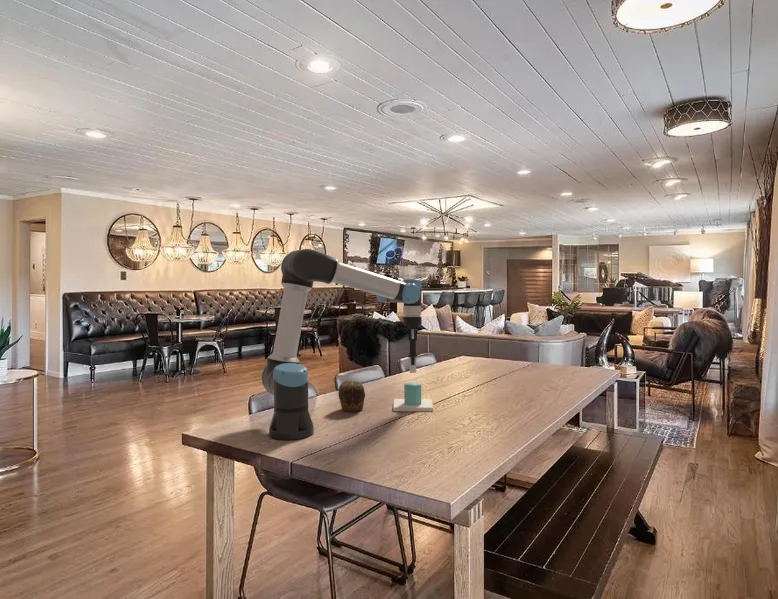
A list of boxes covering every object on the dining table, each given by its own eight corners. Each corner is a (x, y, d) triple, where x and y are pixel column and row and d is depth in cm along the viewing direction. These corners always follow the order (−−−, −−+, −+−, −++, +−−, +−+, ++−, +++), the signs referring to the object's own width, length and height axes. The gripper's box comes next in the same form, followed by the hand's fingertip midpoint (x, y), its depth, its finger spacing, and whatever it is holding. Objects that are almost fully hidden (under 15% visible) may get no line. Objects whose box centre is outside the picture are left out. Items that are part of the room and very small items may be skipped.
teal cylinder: (421, 405, 206) (421, 386, 206) (404, 405, 207) (403, 386, 206) (421, 401, 214) (421, 382, 213) (404, 401, 214) (404, 382, 214)
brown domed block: (333, 411, 204) (332, 382, 203) (347, 405, 213) (347, 377, 213) (356, 414, 198) (355, 384, 198) (370, 408, 208) (369, 379, 208)
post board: (433, 411, 203) (432, 396, 203) (393, 411, 204) (393, 396, 203) (431, 402, 218) (431, 388, 218) (394, 402, 219) (394, 388, 218)
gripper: (422, 317, 203) (422, 375, 204) (421, 315, 216) (421, 369, 217) (403, 317, 203) (403, 375, 204) (403, 315, 216) (404, 369, 217)
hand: (412, 372), depth 210 cm, fingers closed
